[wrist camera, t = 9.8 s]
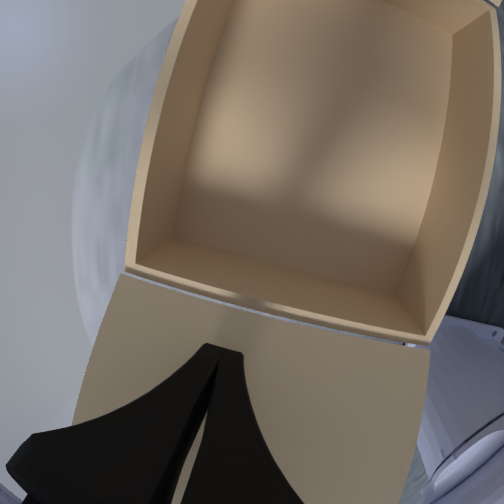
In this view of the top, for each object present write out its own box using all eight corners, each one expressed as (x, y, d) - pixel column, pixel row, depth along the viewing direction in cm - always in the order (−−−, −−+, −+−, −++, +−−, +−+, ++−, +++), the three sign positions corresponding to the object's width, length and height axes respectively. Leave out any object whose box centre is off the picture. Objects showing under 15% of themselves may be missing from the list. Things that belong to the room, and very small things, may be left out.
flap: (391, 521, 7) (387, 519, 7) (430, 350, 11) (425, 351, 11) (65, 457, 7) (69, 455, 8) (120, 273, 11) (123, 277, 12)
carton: (455, 35, 10) (495, 8, 6) (395, 301, 16) (428, 346, 11) (240, -31, 11) (226, -79, 6) (166, 241, 16) (124, 271, 11)
